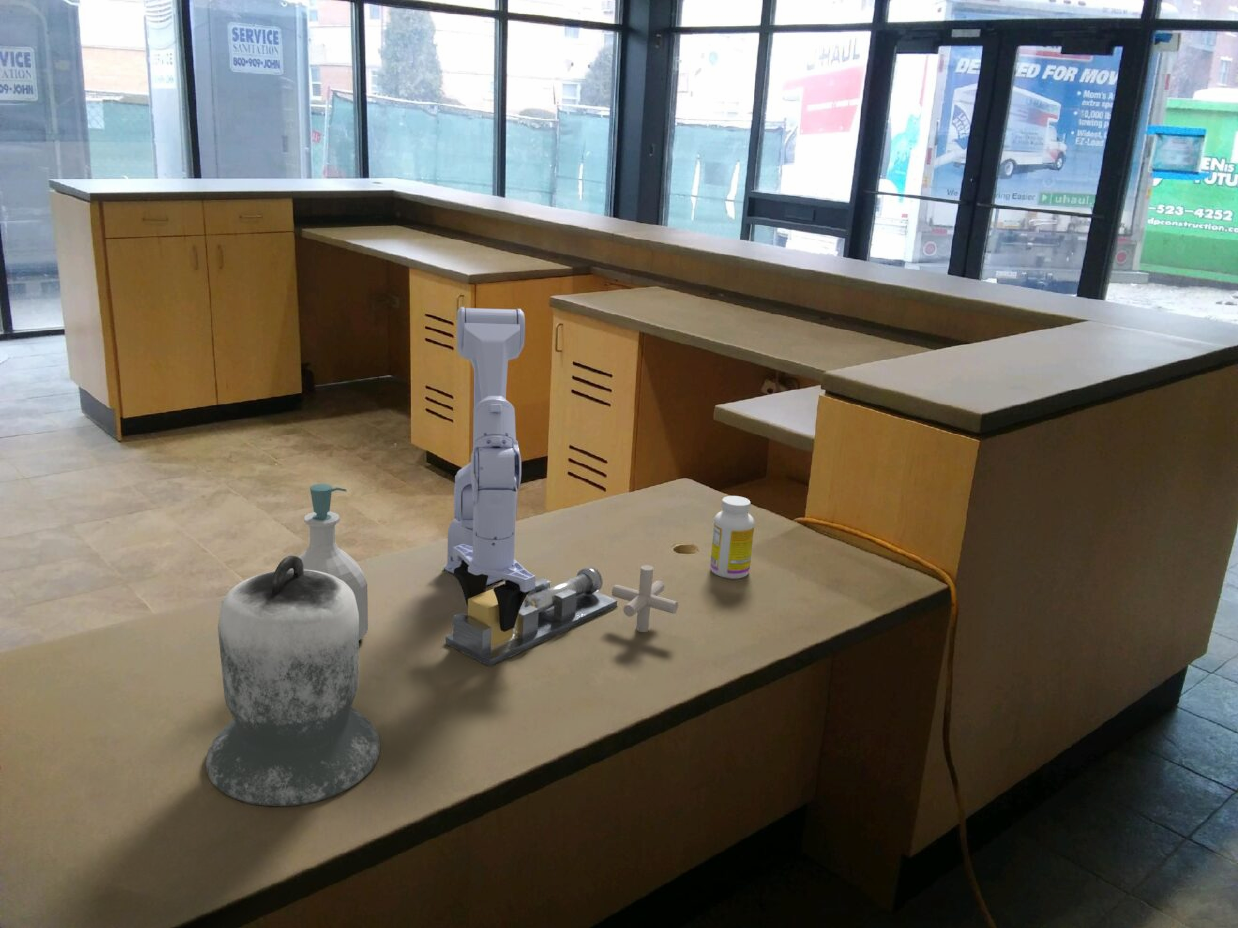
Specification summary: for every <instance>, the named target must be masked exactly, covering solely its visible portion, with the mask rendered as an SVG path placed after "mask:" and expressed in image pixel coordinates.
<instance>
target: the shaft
mask: <svg viewBox="0 0 1238 928" xmlns="http://www.w3.org/2000/svg"><path fill="white" fill-rule="evenodd" d="M602 587H603V577H602V574H601V573H600V571H599V570H598V569H597V568H596V567H593V566H587V567H585V568H582V569H580V570H579V571H578V572H577V574H576V576H574V577H571V578H569V579H566V580H564V581H561V582H560V583H556V584H554V585H552V586H550V588H547V589H545V590H543V591H540V592H538V593H536V594H533V595H531V596H528V595H527V596H526V598H525V600H524V602H523V604H524V605H525V607H528V606H530V605H531V606H533V607H535V608H538V609H539V612H538V613H540V612H542V611H544V610H547V609H549V608H551V607H553V606H554V599H555V595H556V594H558V593H560V592H562V591H565V590H567V589H570V590H572V591H575V592H577V593H576V596H578V595H580V594H583V593H585V594H588V595H589V594H592V593H595V592H599V591H600V590H601V589H602Z"/></svg>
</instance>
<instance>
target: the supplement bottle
mask: <svg viewBox="0 0 1238 928" xmlns="http://www.w3.org/2000/svg"><path fill="white" fill-rule="evenodd" d="M721 508H722V510H721V511H719V512H717V514H716V515H715V516H714V520H713V531H712V532H713V533H712V544H711V554H710V567H709V568H710V571H711V572H712V573H713V574H714V575H716V576H719V577H721V578H725V579H731V580H735V579H742V578H745V577H746V576H747V575H749V573H750V570H751V568H750V567H751V559H752V551H753V543H754V541H753V540H754V532H755V519H754V517H753V516H752V515H751V513H749V511H750V509H751V501H750V499H749V498H746V497H743V496H739V495H728V496H724V497H723V498H722V499H721Z"/></svg>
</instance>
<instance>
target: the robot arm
mask: <svg viewBox="0 0 1238 928" xmlns="http://www.w3.org/2000/svg"><path fill="white" fill-rule="evenodd" d="M525 317H526V316H525V313H524V311H523V310H522V309H521V308H516V309H512V308H511V309H508V308H479V307H478V308H476V307H475V308H474V307H473V308H472V307H465V306H460V308H458V310H457V312H456V346H457V349H456V351H457V353H458V356H459V357H460V358H463V359H466V360H468V361H470V363H471V364H470V365H471V366H472V368H473V409H472V410H473V411H472V416H473V419H472V420H473V424H472V451H471V455H470V462H469V463H467V464H466V465H465V466H463V467H462V468H460V469H459V470H458V471H457V472H456V475H455V476H454V485H453V487H454V488H453V518H454V519H452V521H451V523H449V527H448V530H447V564H445V565H443V570H445V571H447V572H448V573H452V574H453V575H454V577H455V579H457V582H458V583H459V586H460V588H461V590H462V593H463V596H464V599H465V602H466V603H465V604H466V606H467V609H468V599H469V598H471V597H474V596H476V595H479V594H481V593H484V592H486V589H487V586H488V585H491V584H494V583H496V582H499V581H501V580H503V581H504V583H502V584H500V585H498V586H495V587H493V588H492V589H493V591H494V593H495V595H496V598H497V601H498V606H499V624H500V629H501V631H503V632H506V631H508V630H510V629H512V628H514V626H515V623H516V619H517V616H518V613H519V611H520V608H521V606H522V604H524V601H525V599H526V598H527V597H528V593H529V592H530V590H532V589H535V580H536V578H537V577H536V575H535V574H533V573H531V572H529V571H528V570H527V569H526V568H525V567H524V566H523V565H522V564H520V563H519V562H518V561H517V560H516V559H515V547H516V546H515V540H516V519H517V513H518V490H519V489H520V486H521V481H522V456H521V452H520V448H519V441H518V440H517V434H516V432H517V431H516V413H515V412H516V409H515V407H514V405H513V404H512V403H511V402H510V401H509V400H507V381H508V367H509V365H508V364H509V361H511V360H514V359H518V358H519V356H520V354H521V353H522V350H523V349H524V346H525V338H526V318H525Z"/></svg>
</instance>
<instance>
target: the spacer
mask: <svg viewBox="0 0 1238 928" xmlns="http://www.w3.org/2000/svg"><path fill="white" fill-rule="evenodd" d="M493 589H494V588H492V589H489V590H487V591H486V590H485V592H484V593H481V594H479V595H476V596H474V597H471V598H469V599H468V608H467V615H468V616H470V617H472V618H474V619H476V620H478V621H480V622H482V623H484V624H486V625H488V626H490V627H491V645H494V644H496V643H498V642H500V641H503V640H505V639H507V638H509V637H511V636H513V628H512V629H510V630H508V631H506V632H503V631H501V629H500V624H499V606H498V601H497V598H496V595H495V593H494V591H493Z"/></svg>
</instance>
